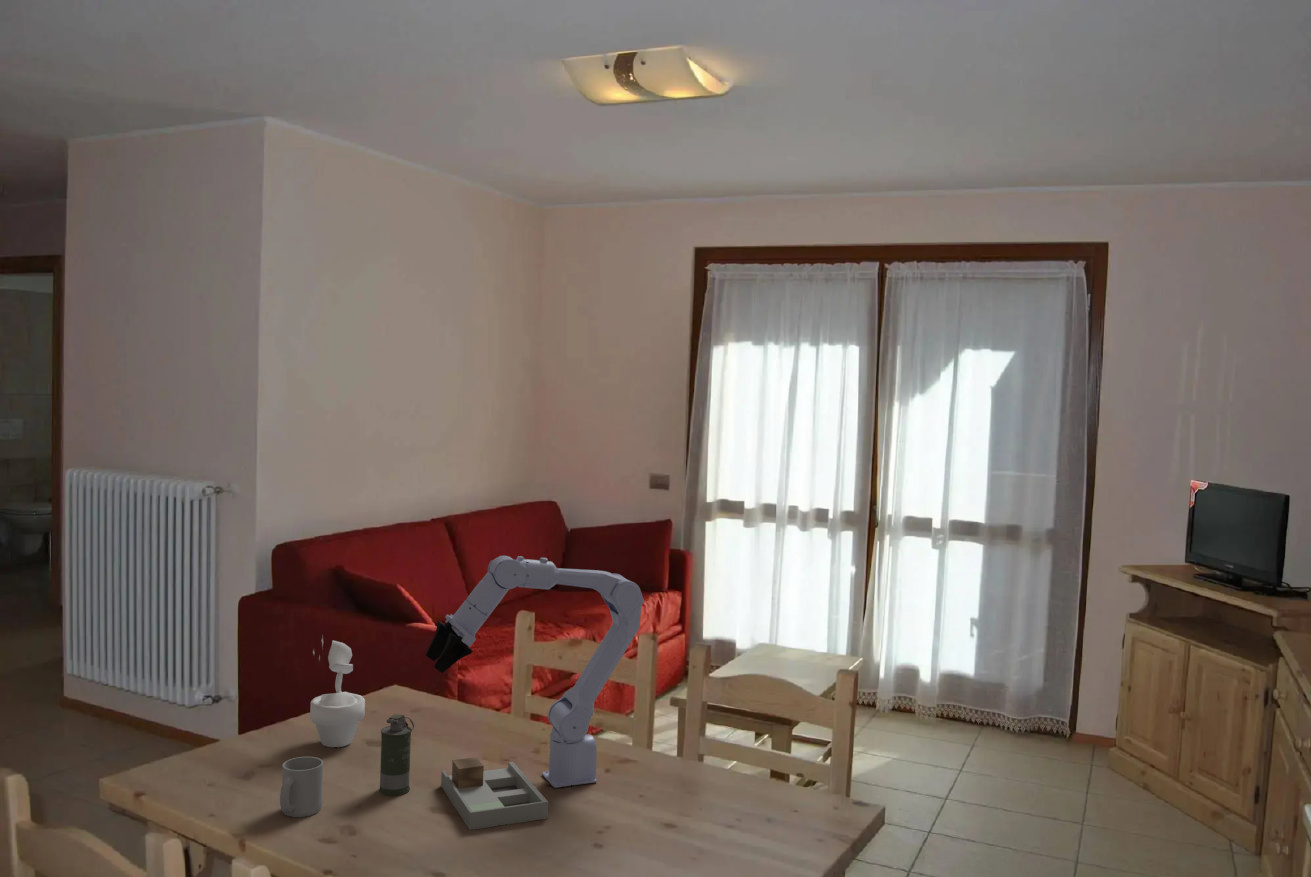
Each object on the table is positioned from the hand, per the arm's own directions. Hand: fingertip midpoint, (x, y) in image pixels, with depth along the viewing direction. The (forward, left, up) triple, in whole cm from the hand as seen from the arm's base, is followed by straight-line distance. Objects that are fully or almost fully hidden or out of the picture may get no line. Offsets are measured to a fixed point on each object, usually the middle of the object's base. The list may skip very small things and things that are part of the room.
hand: (433, 664), depth 202 cm
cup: (+25, +1, -26) cm, 36 cm away
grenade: (+6, -4, -26) cm, 27 cm away
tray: (-10, +8, -26) cm, 29 cm away
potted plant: (+13, -34, -26) cm, 45 cm away
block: (-7, +2, -24) cm, 25 cm away
